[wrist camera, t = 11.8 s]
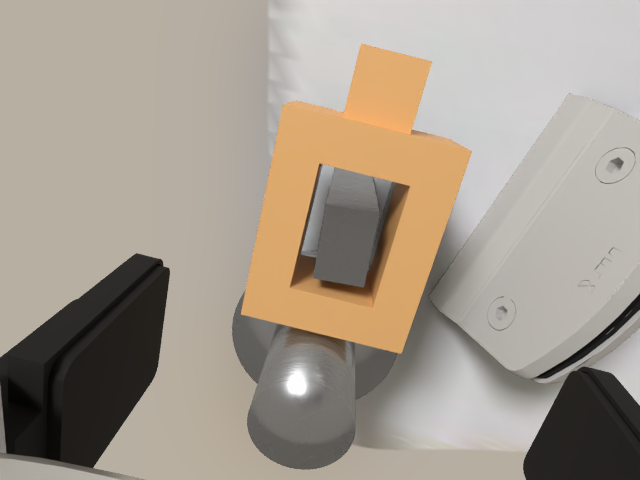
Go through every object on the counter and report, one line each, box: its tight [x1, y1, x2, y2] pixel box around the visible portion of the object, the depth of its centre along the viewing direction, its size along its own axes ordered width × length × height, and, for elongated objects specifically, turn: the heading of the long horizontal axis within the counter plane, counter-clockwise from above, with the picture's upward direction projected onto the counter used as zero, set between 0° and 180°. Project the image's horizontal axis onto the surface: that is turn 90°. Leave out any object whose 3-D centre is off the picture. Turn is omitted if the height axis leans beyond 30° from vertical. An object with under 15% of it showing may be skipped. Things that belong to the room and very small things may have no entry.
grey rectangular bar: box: [313, 167, 380, 287], centre depth 26 cm, size 4×2×11 cm, turn 171°
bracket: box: [241, 44, 472, 354], centre depth 22 cm, size 13×8×4 cm, turn 167°
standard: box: [232, 164, 397, 469], centre depth 25 cm, size 18×10×14 cm, turn 167°
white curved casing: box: [429, 93, 640, 383], centre depth 27 cm, size 17×5×10 cm, turn 152°
